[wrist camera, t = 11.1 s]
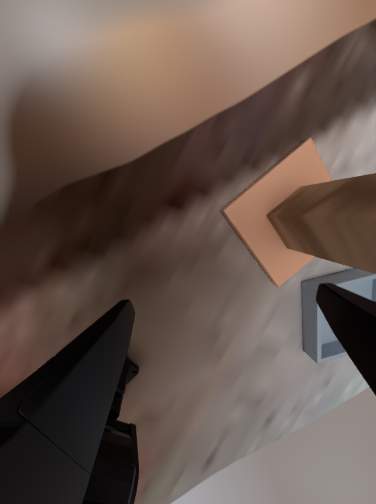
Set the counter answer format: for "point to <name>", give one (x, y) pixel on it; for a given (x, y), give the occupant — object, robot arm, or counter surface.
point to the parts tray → (314, 323)
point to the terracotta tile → (265, 200)
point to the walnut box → (331, 221)
